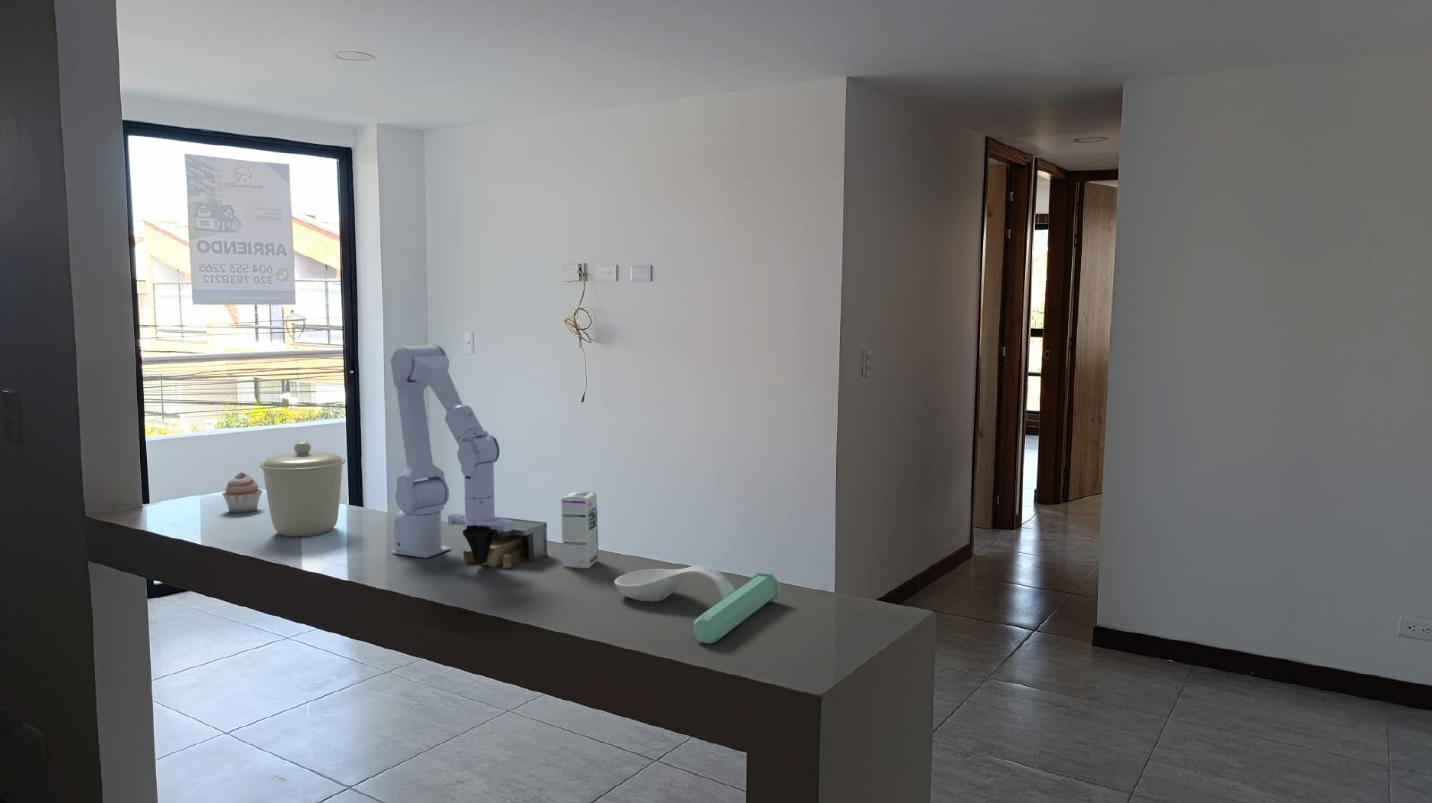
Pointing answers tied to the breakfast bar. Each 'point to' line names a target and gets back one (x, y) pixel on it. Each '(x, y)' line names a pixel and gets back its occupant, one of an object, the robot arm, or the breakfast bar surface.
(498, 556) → the oak bar
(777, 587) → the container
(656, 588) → the spoon rest
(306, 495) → the canister
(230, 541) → the breakfast bar surface
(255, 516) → the breakfast bar surface
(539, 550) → the awning
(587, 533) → the syrup box
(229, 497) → the cupcake
